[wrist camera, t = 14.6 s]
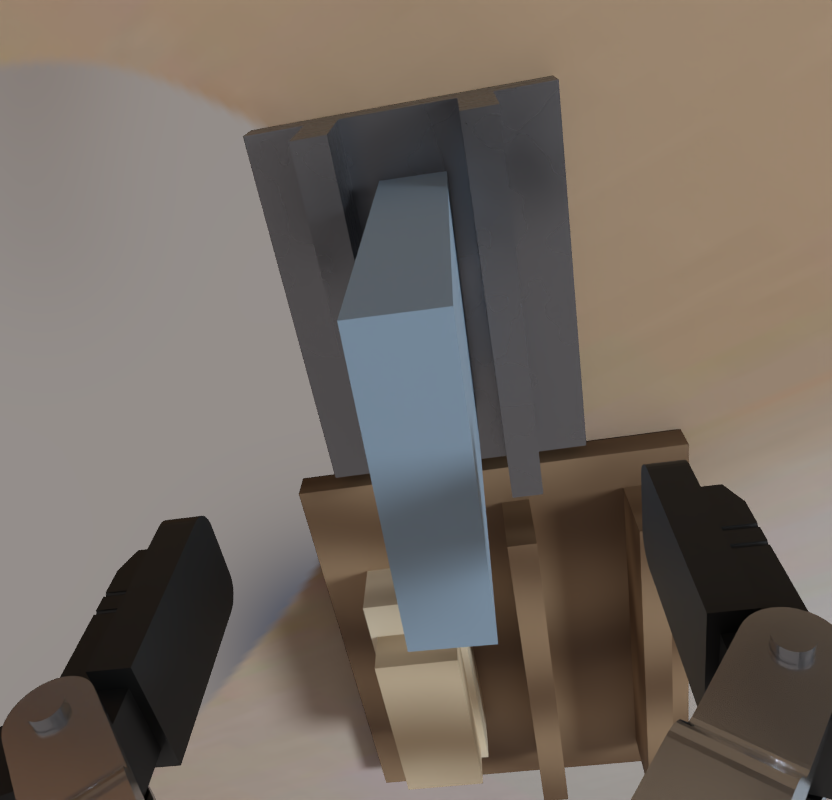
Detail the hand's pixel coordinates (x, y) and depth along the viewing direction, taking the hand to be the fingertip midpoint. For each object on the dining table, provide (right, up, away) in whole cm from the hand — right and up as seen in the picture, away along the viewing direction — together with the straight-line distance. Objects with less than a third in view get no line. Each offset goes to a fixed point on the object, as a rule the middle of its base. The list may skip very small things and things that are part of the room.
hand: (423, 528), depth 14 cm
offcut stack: (0, -8, +17) cm, 19 cm away
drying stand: (0, +6, +11) cm, 12 cm away
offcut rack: (+4, -7, +18) cm, 20 cm away
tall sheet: (0, +5, +10) cm, 11 cm away
